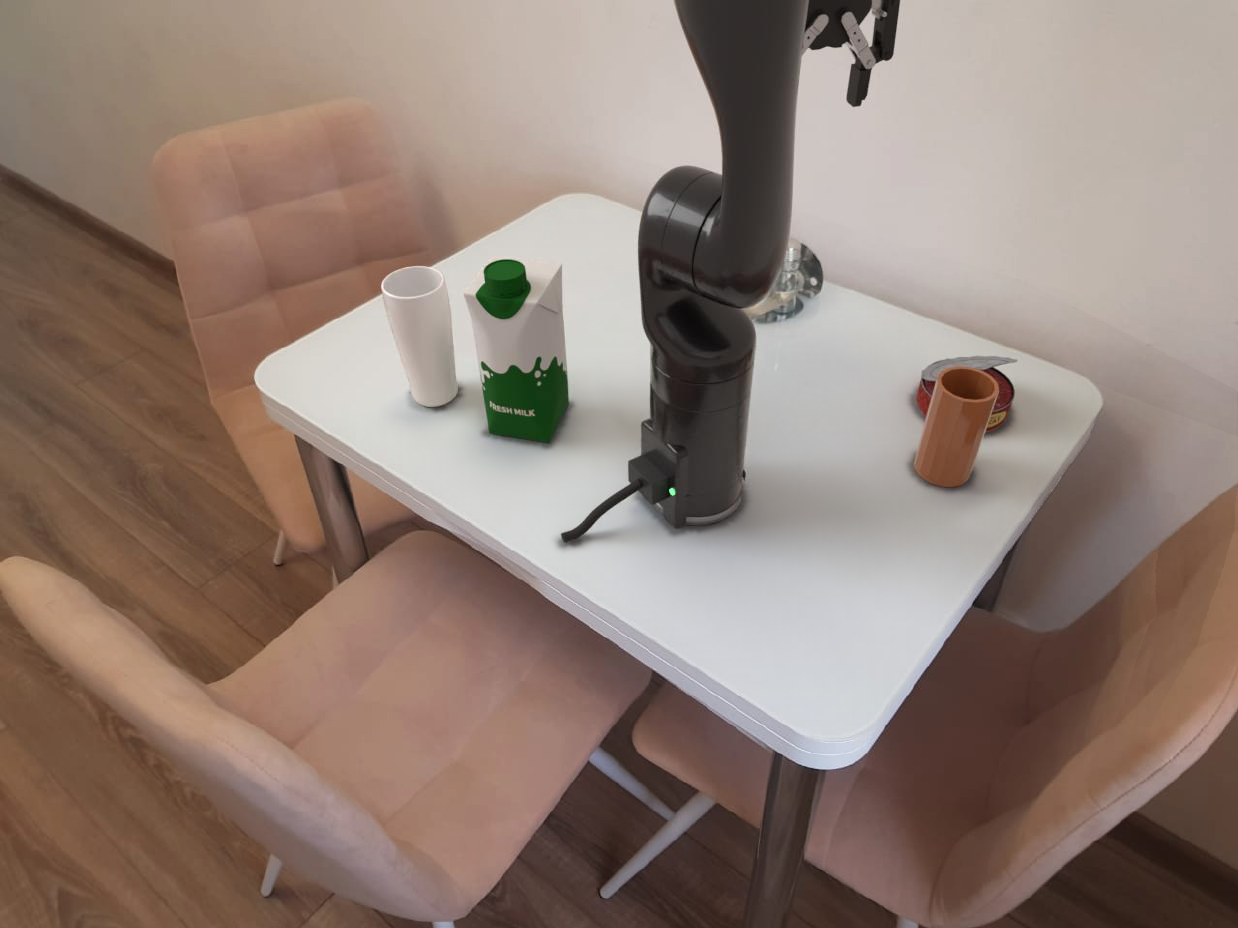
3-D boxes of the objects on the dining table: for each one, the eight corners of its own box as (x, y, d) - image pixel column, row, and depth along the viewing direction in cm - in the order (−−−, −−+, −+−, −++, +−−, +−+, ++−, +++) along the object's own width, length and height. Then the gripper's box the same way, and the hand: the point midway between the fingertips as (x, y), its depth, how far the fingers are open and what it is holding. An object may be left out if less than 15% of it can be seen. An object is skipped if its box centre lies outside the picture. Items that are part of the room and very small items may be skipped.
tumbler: (944, 494, 89) (971, 409, 81) (902, 463, 92) (924, 379, 85) (981, 473, 91) (1011, 388, 83) (939, 443, 94) (964, 359, 87)
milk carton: (478, 437, 97) (451, 276, 83) (508, 388, 103) (487, 231, 90) (554, 450, 95) (539, 287, 81) (579, 400, 101) (569, 241, 88)
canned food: (923, 456, 100) (895, 392, 94) (932, 396, 106) (906, 332, 100) (1031, 441, 93) (1008, 372, 88) (1034, 378, 99) (1012, 310, 94)
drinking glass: (402, 383, 104) (376, 271, 94) (459, 372, 105) (440, 260, 95) (410, 418, 99) (383, 303, 89) (469, 406, 101) (450, 291, 91)
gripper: (778, -57, 76) (761, 130, 87) (930, -69, 78) (895, 114, 89) (749, -76, 81) (737, 103, 92) (892, -87, 84) (863, 89, 95)
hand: (814, 108), depth 91 cm, fingers open, 8 cm apart
